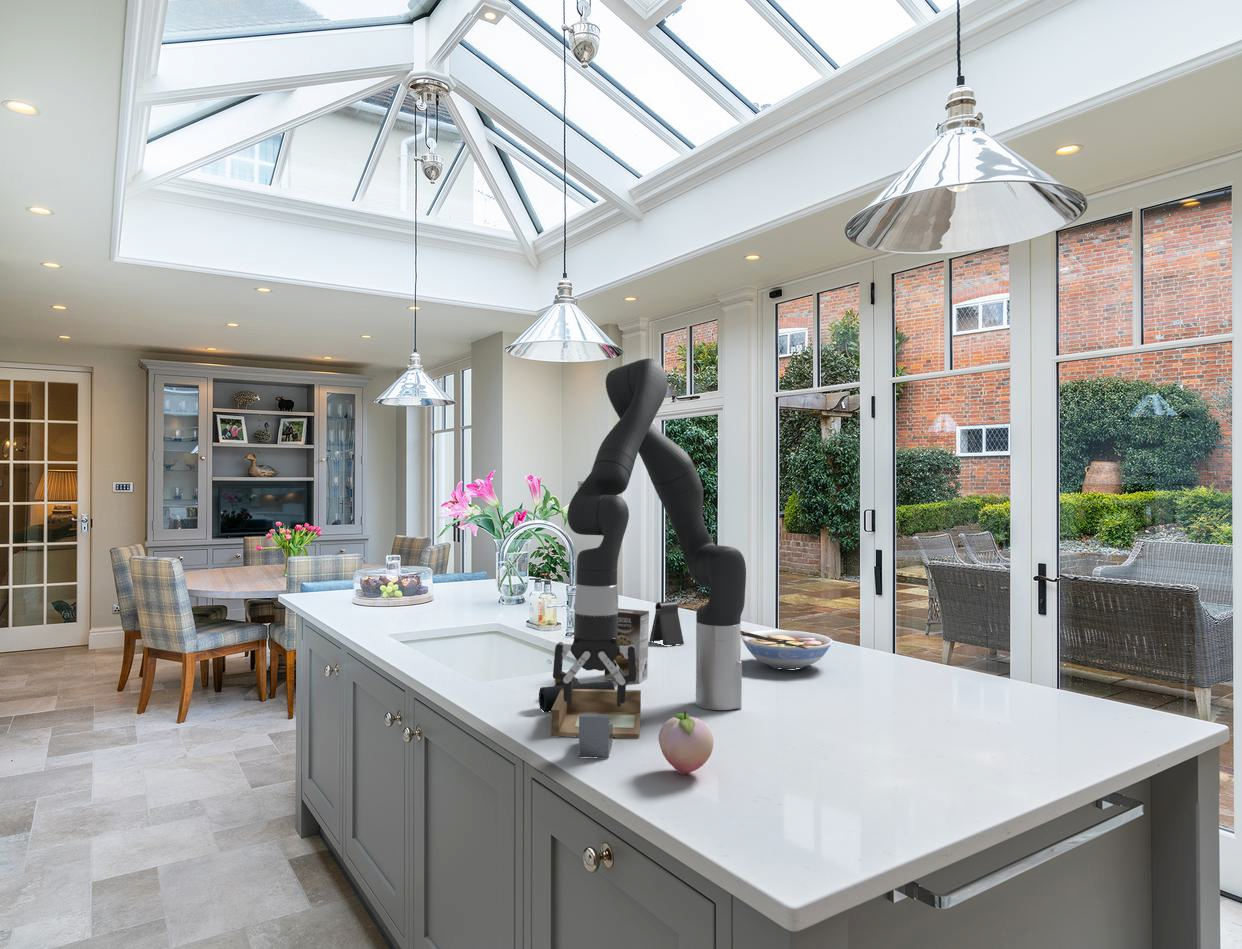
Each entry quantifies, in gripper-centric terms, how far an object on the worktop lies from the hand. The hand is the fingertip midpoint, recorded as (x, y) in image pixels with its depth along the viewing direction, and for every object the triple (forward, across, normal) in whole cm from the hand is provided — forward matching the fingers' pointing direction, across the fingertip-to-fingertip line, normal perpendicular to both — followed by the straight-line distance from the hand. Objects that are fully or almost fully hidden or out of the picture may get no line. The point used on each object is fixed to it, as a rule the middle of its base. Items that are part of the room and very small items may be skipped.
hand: (594, 704), depth 135 cm
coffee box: (+8, -3, -52) cm, 52 cm away
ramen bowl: (+7, -43, -67) cm, 80 cm away
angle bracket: (+8, 0, -1) cm, 8 cm away
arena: (+8, 0, -15) cm, 17 cm away
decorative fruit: (+8, -16, +9) cm, 20 cm away
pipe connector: (+8, +7, -30) cm, 31 cm away
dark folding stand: (+7, -13, -95) cm, 96 cm away
